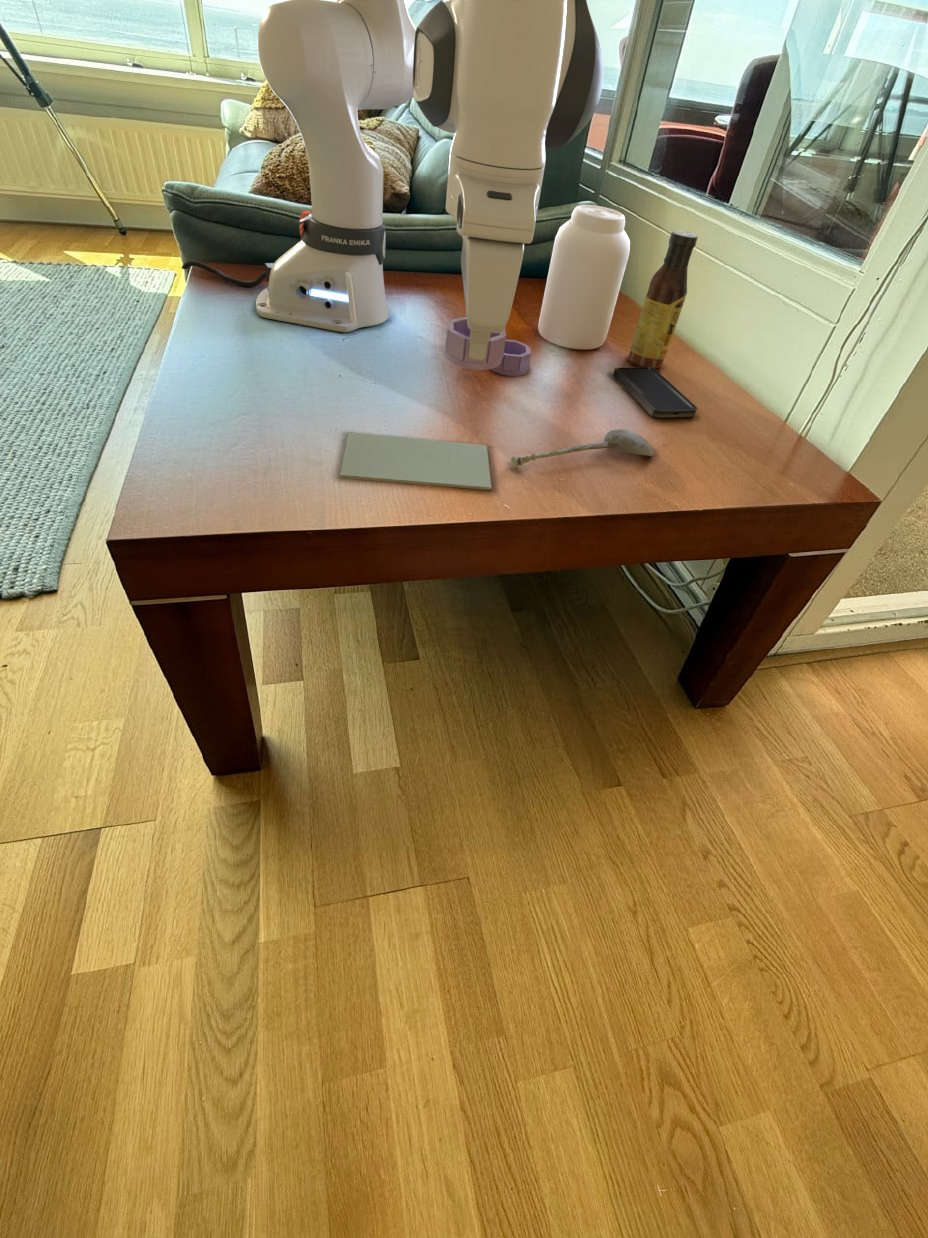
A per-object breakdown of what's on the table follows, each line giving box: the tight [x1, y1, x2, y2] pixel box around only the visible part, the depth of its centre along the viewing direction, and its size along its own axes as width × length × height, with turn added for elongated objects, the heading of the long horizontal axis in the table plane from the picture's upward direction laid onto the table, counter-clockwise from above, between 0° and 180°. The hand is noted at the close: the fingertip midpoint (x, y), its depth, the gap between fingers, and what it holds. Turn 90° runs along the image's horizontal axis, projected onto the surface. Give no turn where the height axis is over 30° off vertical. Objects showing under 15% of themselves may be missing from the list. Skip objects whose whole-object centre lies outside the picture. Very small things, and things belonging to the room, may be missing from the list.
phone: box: [612, 366, 698, 419], centre depth 100 cm, size 8×1×15 cm
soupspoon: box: [510, 428, 655, 470], centre depth 83 cm, size 22×3×7 cm
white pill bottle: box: [537, 204, 631, 350], centre depth 108 cm, size 12×12×20 cm
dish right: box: [444, 316, 507, 371], centre depth 70 cm, size 6×6×3 cm
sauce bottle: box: [628, 230, 698, 369], centre depth 103 cm, size 7×6×20 cm
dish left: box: [490, 338, 532, 377], centre depth 101 cm, size 6×6×3 cm
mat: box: [339, 432, 492, 491], centre depth 78 cm, size 18×10×1 cm, turn 92°
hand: (474, 342), depth 70 cm, fingers closed on dish right, 6 cm apart
